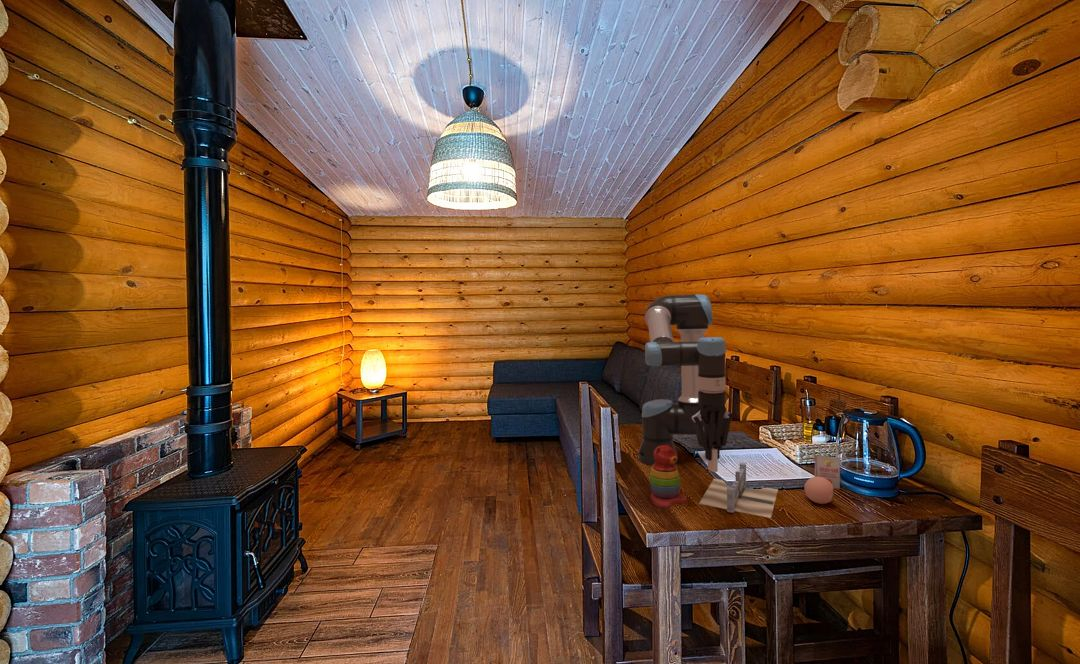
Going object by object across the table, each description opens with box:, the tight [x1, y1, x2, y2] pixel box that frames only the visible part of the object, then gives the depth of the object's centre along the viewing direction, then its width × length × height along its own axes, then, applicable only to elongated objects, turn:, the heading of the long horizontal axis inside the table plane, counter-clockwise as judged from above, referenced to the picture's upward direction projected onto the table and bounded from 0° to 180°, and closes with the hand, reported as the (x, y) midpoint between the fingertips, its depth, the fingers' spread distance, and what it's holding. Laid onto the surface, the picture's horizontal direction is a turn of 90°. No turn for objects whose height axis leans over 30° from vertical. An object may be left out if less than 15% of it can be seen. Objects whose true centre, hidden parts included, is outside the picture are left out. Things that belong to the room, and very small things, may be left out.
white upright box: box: [814, 455, 841, 491], centre depth 153 cm, size 4×7×10 cm, turn 63°
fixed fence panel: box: [734, 462, 747, 497], centre depth 151 cm, size 12×2×8 cm, turn 148°
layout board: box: [698, 478, 779, 519], centre depth 147 cm, size 22×20×1 cm
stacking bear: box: [649, 444, 688, 509], centre depth 147 cm, size 11×10×18 cm
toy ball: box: [804, 476, 835, 505], centre depth 142 cm, size 8×8×8 cm
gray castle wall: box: [726, 480, 739, 514], centre depth 141 cm, size 12×2×7 cm, turn 148°
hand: (712, 470), depth 136 cm, fingers closed
